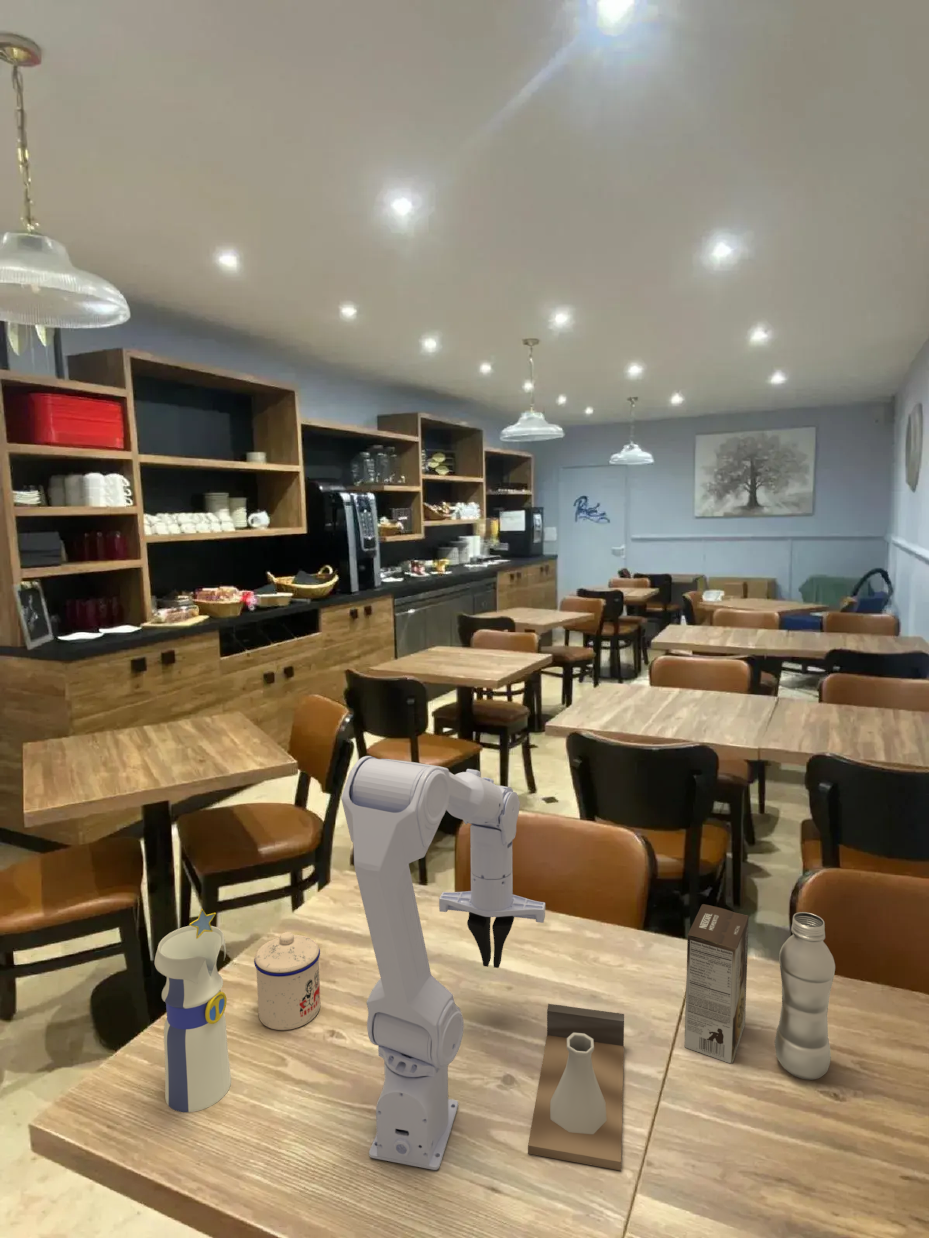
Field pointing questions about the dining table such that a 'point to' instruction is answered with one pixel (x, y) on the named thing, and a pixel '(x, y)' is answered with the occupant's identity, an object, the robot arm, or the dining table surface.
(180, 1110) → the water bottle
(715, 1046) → the coffee box
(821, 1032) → the plastic bottle
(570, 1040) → the flask
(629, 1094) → the dining table surface
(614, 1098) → the sliding board
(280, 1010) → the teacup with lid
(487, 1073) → the dining table surface
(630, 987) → the dining table surface
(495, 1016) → the dining table surface
